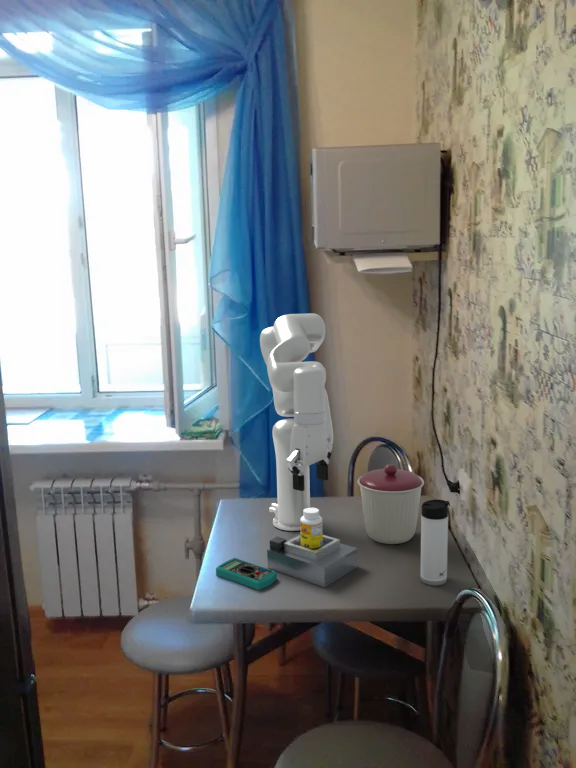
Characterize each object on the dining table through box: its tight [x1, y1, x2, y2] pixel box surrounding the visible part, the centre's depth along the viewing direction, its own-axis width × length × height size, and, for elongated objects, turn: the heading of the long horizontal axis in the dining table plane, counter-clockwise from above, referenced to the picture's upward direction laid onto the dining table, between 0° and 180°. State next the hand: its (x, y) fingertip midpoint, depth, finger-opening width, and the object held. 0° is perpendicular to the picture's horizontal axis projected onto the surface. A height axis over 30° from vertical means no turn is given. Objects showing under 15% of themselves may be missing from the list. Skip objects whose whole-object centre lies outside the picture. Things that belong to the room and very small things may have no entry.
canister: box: [357, 463, 425, 545], centre depth 196 cm, size 18×18×21 cm
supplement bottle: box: [300, 507, 324, 551], centre depth 178 cm, size 6×6×10 cm
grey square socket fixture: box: [266, 531, 358, 589], centre depth 179 cm, size 18×14×7 cm
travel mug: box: [420, 499, 451, 586], centre depth 170 cm, size 6×7×20 cm
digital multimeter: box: [215, 557, 278, 591], centre depth 175 cm, size 7×15×3 cm, turn 52°
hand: (310, 484), depth 176 cm, fingers open, 9 cm apart
